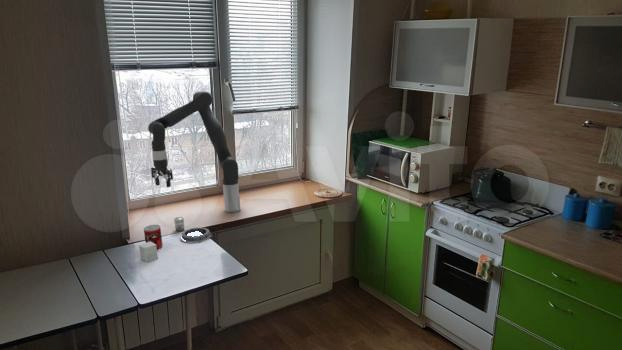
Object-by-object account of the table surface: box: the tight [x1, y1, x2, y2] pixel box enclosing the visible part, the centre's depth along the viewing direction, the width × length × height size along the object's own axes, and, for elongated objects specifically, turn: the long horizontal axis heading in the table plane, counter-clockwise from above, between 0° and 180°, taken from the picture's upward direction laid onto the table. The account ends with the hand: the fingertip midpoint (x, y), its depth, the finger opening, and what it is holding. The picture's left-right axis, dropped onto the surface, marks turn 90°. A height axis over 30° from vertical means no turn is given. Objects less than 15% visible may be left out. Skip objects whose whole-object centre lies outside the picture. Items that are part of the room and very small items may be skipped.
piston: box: [173, 216, 185, 233], centre depth 257 cm, size 5×5×7 cm
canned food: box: [143, 224, 163, 251], centre depth 234 cm, size 8×8×11 cm
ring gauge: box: [181, 226, 212, 243], centre depth 248 cm, size 16×16×3 cm
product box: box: [138, 241, 159, 263], centre depth 222 cm, size 6×6×7 cm
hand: (163, 186), depth 262 cm, fingers open, 8 cm apart
